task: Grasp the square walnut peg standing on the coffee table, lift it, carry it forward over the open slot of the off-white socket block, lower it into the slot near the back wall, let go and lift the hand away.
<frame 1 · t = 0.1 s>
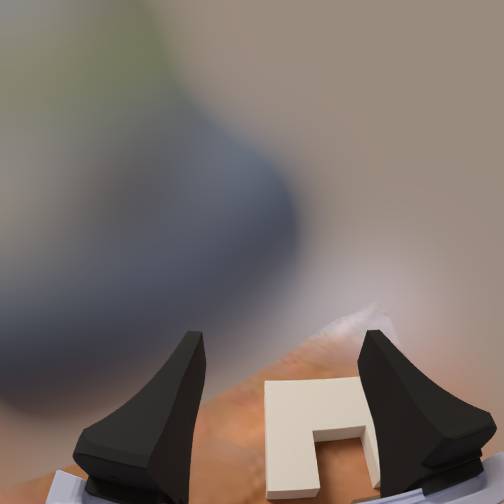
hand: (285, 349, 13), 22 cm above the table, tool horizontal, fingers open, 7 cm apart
socket block: (339, 462, 26), on the table
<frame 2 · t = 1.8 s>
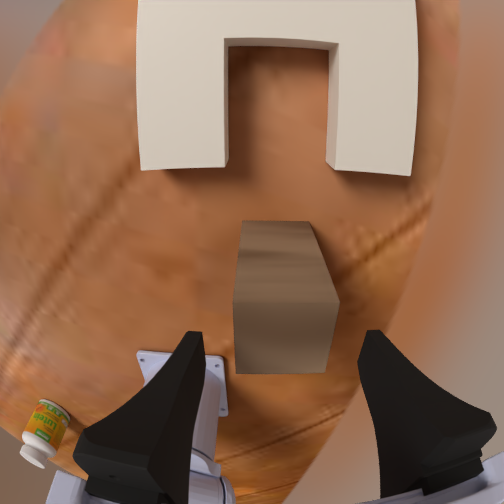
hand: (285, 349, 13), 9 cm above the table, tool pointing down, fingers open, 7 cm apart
supplement bottle: (55, 408, 34), on the table
peg: (274, 250, 21), on the table
socket block: (278, 95, 17), on the table
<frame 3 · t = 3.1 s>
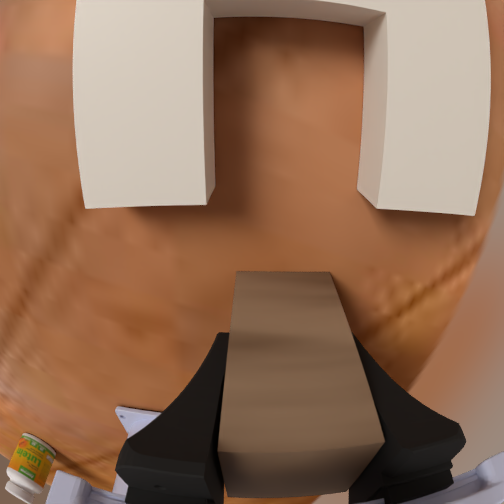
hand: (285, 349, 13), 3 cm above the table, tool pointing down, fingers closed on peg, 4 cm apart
supplement bottle: (40, 442, 28), on the table
peg: (281, 309, 16), on the table, touching gripper
socket block: (290, 90, 11), on the table
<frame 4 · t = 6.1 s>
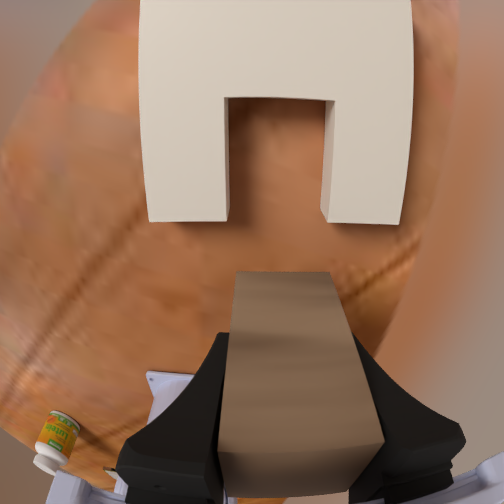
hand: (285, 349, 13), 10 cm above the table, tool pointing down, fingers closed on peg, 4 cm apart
supplement bottle: (65, 419, 36), on the table
peg: (281, 309, 16), point 7 cm above the table, touching gripper
harmonica: (139, 472, 44), on the table
socket block: (276, 147, 19), on the table
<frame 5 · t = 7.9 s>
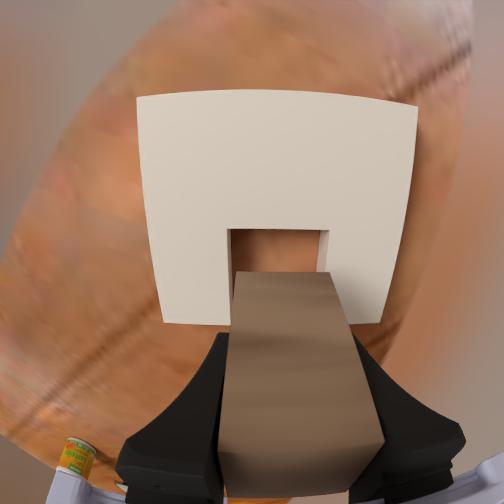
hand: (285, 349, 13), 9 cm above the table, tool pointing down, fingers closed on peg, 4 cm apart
supplement bottle: (82, 443, 39), on the table
peg: (281, 309, 16), point 6 cm above the table, touching gripper
harmonica: (149, 486, 47), on the table
socket block: (274, 257, 22), on the table
when the fingers open (4 cm above the table, at t = 9.5 s): peg drops 1 cm, resting in socket block.
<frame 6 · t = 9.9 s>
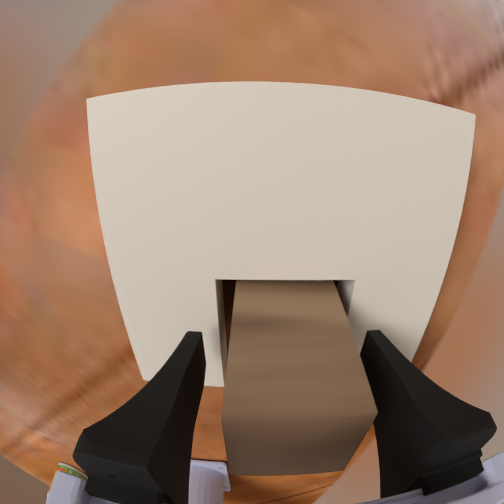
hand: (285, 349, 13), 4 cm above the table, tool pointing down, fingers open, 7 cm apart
supplement bottle: (73, 468, 34), on the table
peg: (280, 297, 16), resting in socket block
socket block: (279, 305, 17), on the table
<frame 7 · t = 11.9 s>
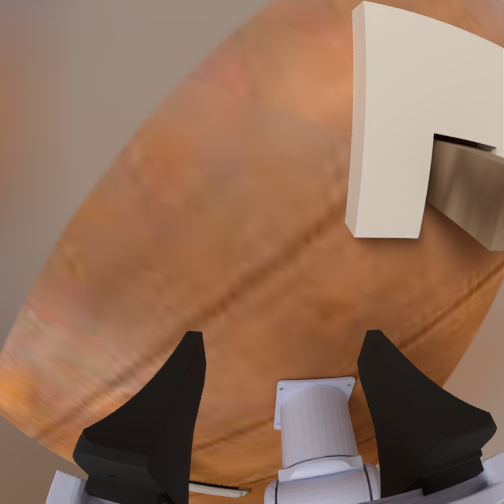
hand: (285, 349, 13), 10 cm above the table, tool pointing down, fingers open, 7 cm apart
peg: (445, 169, 19), resting in socket block
harmonica: (209, 482, 46), on the table
socket block: (444, 176, 19), on the table
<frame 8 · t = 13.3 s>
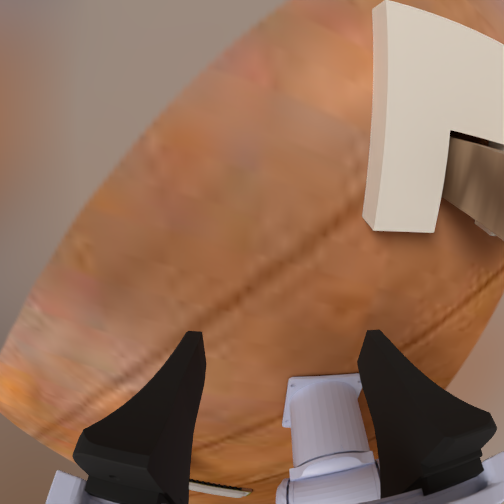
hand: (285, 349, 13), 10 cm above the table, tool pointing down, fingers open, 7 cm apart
peg: (458, 166, 19), resting in socket block
harmonica: (212, 482, 45), on the table
socket block: (457, 173, 19), on the table
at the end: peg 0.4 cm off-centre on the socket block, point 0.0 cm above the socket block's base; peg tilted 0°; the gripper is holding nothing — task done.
